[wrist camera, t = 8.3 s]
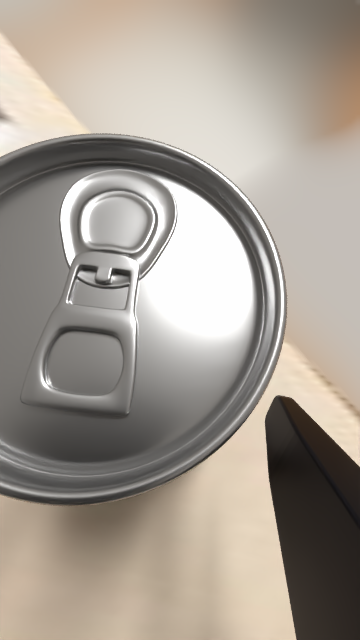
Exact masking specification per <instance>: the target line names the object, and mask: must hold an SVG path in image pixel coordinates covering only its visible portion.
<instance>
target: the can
mask: <svg viewBox="0 0 360 640" xmlns="http://www.w3.org/2000/svg"><path fill="white" fill-rule="evenodd" d="M286 318H287V292H286V282H285V276H284V271H283V266H282V262H281V259H280V255H279V252H278V249H277V247H276V244H275V241H274V239H273V237H272V235H271V232H270V230H269V229H268V227H267V225H266V223H265V221H264V220H263V218H262V216H261V215H260V213H259V212H258V210H257V209H256V208H255V206H254V205H253V204H252V202H251V201H250V200H249V199H248V197H247V196H246V195H245V194H244V193H243V192H242V191H241V190H240V189H239V188H238V187H237V186H236V185H235V184H234V183H233V182H232V181H231V180H229V179H228V178H227V177H226V176H225V175H223V174H222V173H221V172H220V171H218V170H217V169H215V168H214V167H213V166H211V165H210V164H208V163H206V162H205V161H203V160H201V159H200V158H198V157H196V156H194V155H192V154H190V153H188V152H186V151H183V150H181V149H179V148H176V147H174V146H171V145H168V144H165V143H162V142H158V141H155V140H151V139H146V138H142V137H136V136H130V135H121V134H80V135H71V136H64V137H59V138H54V139H50V140H46V141H42V142H38V143H35V144H32V145H29V146H26V147H23V148H20V149H18V150H15V151H13V152H10V153H8V154H6V155H4V156H2V157H0V495H3V496H6V497H9V498H12V499H16V500H20V501H25V502H30V503H36V504H43V505H53V506H83V505H94V504H102V503H108V502H113V501H118V500H122V499H126V498H130V497H133V496H136V495H139V494H142V493H145V492H148V491H150V490H153V489H155V488H158V487H160V486H162V485H164V484H166V483H168V482H171V481H173V480H175V479H176V478H178V477H180V476H182V475H183V474H185V473H187V472H188V471H190V470H192V469H193V468H195V467H196V466H198V465H199V464H200V463H202V462H203V461H205V460H206V459H207V458H208V457H210V456H211V455H212V454H213V453H215V452H216V451H217V450H218V449H219V448H220V447H221V446H223V445H224V444H225V443H226V442H227V441H228V440H229V439H230V438H231V437H232V436H233V435H234V433H235V432H236V431H237V430H238V429H239V428H240V427H241V425H242V424H243V423H244V422H245V421H246V419H247V418H248V417H249V415H250V414H251V413H252V411H253V410H254V408H255V407H256V405H257V404H258V402H259V400H260V399H261V397H262V395H263V393H264V392H265V390H266V388H267V386H268V384H269V382H270V380H271V377H272V375H273V373H274V370H275V368H276V365H277V362H278V359H279V356H280V352H281V349H282V344H283V340H284V334H285V328H286Z"/></svg>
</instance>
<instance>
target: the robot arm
mask: <svg viewBox="0 0 360 640" xmlns="http://www.w3.org/2000/svg"><path fill="white" fill-rule="evenodd" d="M265 429H266V444H267V460H268V473H269V482H270V488H271V494H272V500H273V506H274V511H275V517H276V523H277V529H278V535H279V541H280V546H281V552H282V558H283V564H284V570H285V575H286V581H287V587H288V593H289V599H290V604H291V610H292V616H293V622H294V628H295V633H296V639H297V640H360V467H359V466H358V465H357V464H356V463H355V462H354V461H353V460H352V459H351V458H350V457H349V456H348V455H347V454H346V453H345V452H344V450H343V449H342V448H341V447H340V446H339V445H338V444H337V443H336V442H335V441H334V440H333V439H332V438H331V437H330V436H329V435H328V434H327V433H326V432H325V431H324V430H323V429H322V428H321V427H320V426H319V425H318V424H317V423H316V422H315V421H314V420H313V419H312V418H311V417H310V416H309V415H308V414H307V413H306V412H305V411H304V410H303V409H302V408H301V407H300V406H299V405H298V404H297V403H296V402H295V401H294V400H293V399H292V398H290V397H285V396H280V395H278V396H276V397H275V398H274V400H273V402H272V404H271V406H270V408H269V410H268V412H267V415H266V418H265Z"/></svg>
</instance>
